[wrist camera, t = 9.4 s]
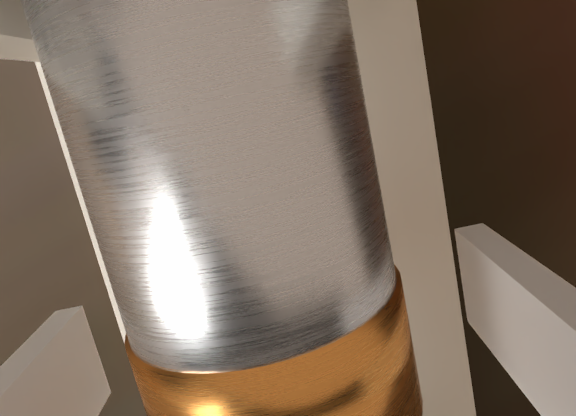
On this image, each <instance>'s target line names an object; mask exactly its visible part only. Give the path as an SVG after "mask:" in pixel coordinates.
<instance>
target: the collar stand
mask: <svg viewBox="0 0 576 416" xmlns="http://www.w3.org/2000/svg"><path fill="white" fill-rule="evenodd" d="M347 1H348V7H349V12H350V18H351V24H352V29H353V35H354V41H355V46H356V52H357V58H358V63H359V69H360V75H361V80H362V86H363V92H364V97H365V103H366V109H367V114H368V120H369V126H370V131H371V137H372V143H373V148H374V154H375V160H376V165H377V171H378V177H379V182H380V188H381V194H382V199H383V205H384V211H385V216H386V222H387V228H388V233H389V239H390V245H391V250H392V256H393V262H394V265H396V267H397V268H398V270H399V272H400V275H401V280H402V285H403V291H404V297H405V303H406V308H407V314H408V320H409V325H410V331H411V337H412V343H413V348H414V354H415V360H416V366H417V371H418V377H419V383H420V389H421V394H422V400H423V414H422V416H476V410H475V403H474V396H473V389H472V383H471V376H470V369H469V362H468V355H467V348H466V341H465V334H464V327H463V320H462V313H461V306H460V300H459V293H458V286H457V279H456V272H455V265H454V258H453V251H452V244H451V237H450V230H449V223H448V217H447V210H446V203H445V196H444V189H443V182H442V175H441V168H440V161H439V154H438V147H437V140H436V134H435V127H434V120H433V113H432V106H431V99H430V92H429V85H428V78H427V71H426V64H425V57H424V51H423V44H422V37H421V30H420V23H419V16H418V9H417V2H416V0H347ZM0 59H9V60H21V61H32V62H35V64H36V67H37V70H38V73H39V76H40V80H41V83H42V86H43V89H44V92H45V95H46V98H47V102H48V105H49V108H50V111H51V114H52V117H53V120H54V124H55V127H56V130H57V133H58V136H59V139H60V143H61V146H62V149H63V152H64V155H65V158H66V161H67V165H68V168H69V171H70V174H71V177H72V180H73V183H74V187H75V190H76V193H77V196H78V199H79V202H80V205H81V209H82V212H83V215H84V218H85V221H86V224H87V228H88V231H89V234H90V237H91V240H92V243H93V246H94V250H95V253H96V256H97V259H98V262H99V265H100V268H101V272H102V275H103V278H104V281H105V284H106V287H107V290H108V294H109V297H110V300H111V303H112V306H113V309H114V312H115V316H116V319H117V322H118V325H119V328H120V331H121V335H122V338H123V341H124V344H125V335H126V331H125V328H124V325H123V322H122V318H121V315H120V312H119V309H118V306H117V303H116V300H115V296H114V293H113V290H112V287H111V284H110V281H109V277H108V274H107V271H106V268H105V265H104V262H103V259H102V255H101V252H100V249H99V246H98V243H97V240H96V237H95V233H94V230H93V227H92V224H91V221H90V218H89V215H88V211H87V208H86V205H85V202H84V199H83V196H82V193H81V189H80V186H79V183H78V180H77V177H76V174H75V170H74V167H73V164H72V161H71V158H70V155H69V152H68V148H67V145H66V142H65V139H64V136H63V133H62V130H61V126H60V123H59V120H58V117H57V114H56V111H55V108H54V104H53V101H52V98H51V95H50V92H49V89H48V85H47V82H46V79H45V76H44V73H43V70H42V67H41V63H40V60H39V57H38V54H37V51H36V48H35V45H34V41H33V38H32V35H31V32H30V29H29V26H28V23H27V19H26V16H25V13H24V10H23V7H22V4H21V0H0Z"/></svg>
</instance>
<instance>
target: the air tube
mask: <svg viewBox="0 0 576 416" xmlns="http://www.w3.org/2000/svg"><path fill="white" fill-rule="evenodd" d="M21 4H22V7H23V10H24V13H25V16H26V19H27V23H28V26H29V29H30V32H31V35H32V38H33V41H34V45H35V48H36V51H37V54H38V57H39V60H40V63H41V67H42V70H43V73H44V76H45V79H46V82H47V85H48V89H49V92H50V95H51V98H52V101H53V104H54V108H55V111H56V114H57V117H58V120H59V123H60V126H61V130H62V133H63V136H64V139H65V142H66V145H67V148H68V152H69V155H70V158H71V161H72V164H73V167H74V170H75V174H76V177H77V180H78V183H79V186H80V189H81V193H82V196H83V199H84V202H85V205H86V208H87V211H88V215H89V218H90V221H91V224H92V227H93V230H94V233H95V237H96V240H97V243H98V246H99V249H100V252H101V255H102V259H103V262H104V265H105V268H106V271H107V274H108V277H109V281H110V284H111V287H112V290H113V293H114V296H115V300H116V303H117V306H118V309H119V312H120V315H121V318H122V322H123V325H124V328H125V331H126V335H125V347H126V352H127V355H128V358H129V361H130V364H131V367H132V370H133V373H134V376H135V380H136V383H137V386H138V389H139V392H140V395H141V398H142V401H143V405H144V408H145V411H146V414H147V416H422V414H423V400H422V394H421V389H420V383H419V377H418V371H417V366H416V360H415V354H414V348H413V343H412V337H411V331H410V325H409V320H408V314H407V308H406V303H405V297H404V291H403V285H402V280H401V275H400V272H399V270H398V268H397V267H396V265H394V262H393V256H392V250H391V245H390V239H389V233H388V228H387V222H386V216H385V211H384V205H383V199H382V194H381V188H380V182H379V177H378V171H377V165H376V160H375V154H374V148H373V143H372V137H371V131H370V126H369V120H368V114H367V109H366V103H365V97H364V92H363V86H362V80H361V75H360V69H359V63H358V58H357V52H356V46H355V41H354V35H353V29H352V24H351V18H350V12H349V7H348V1H347V0H21Z"/></svg>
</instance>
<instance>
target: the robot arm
mask: <svg viewBox="0 0 576 416" xmlns="http://www.w3.org/2000/svg"><path fill="white" fill-rule="evenodd" d="M454 230H455V237H456V244H457V251H458V258H459V266H460V273H461V280H462V287H463V294H464V301H465V308H466V315H467V321H468V323H469V324H470V325H471V327H472V328H473V329H474V330H475V332H476V333H477V334H478V336H479V337H480V338H481V339H482V341H483V342H484V343H485V344H486V346H487V347H488V348H489V350H490V351H491V352H492V353H493V355H494V356H495V357H496V359H497V360H498V361H499V362H500V364H501V365H502V366H503V368H504V369H505V370H506V371H507V373H508V374H509V375H510V377H511V378H512V379H513V380H514V382H515V383H516V384H517V386H518V387H519V388H520V389H521V391H522V392H523V393H524V394H525V396H526V397H527V398H528V400H529V401H530V402H531V403H532V405H533V406H534V407H535V409H536V410H537V411H538V412H539V414H540V415H541V416H576V288H575V287H574V286H573V285H571V284H570V283H568V282H567V281H565V280H564V279H562V278H561V277H560V276H558V275H557V274H555V273H554V272H552V271H551V270H549V269H548V268H547V267H545V266H544V265H542V264H541V263H539V262H538V261H537V260H535V259H534V258H532V257H531V256H529V255H528V254H526V253H525V252H524V251H522V250H521V249H519V248H518V247H516V246H515V245H514V244H512V243H511V242H509V241H508V240H506V239H505V238H503V237H502V236H501V235H499V234H498V233H496V232H495V231H493V230H492V229H491V228H489V227H488V226H486V225H485V224H483V223H480V224H476V225H471V226H466V227H461V228H456V229H454ZM110 393H111V390H110V387H109V384H108V381H107V378H106V375H105V372H104V369H103V366H102V363H101V360H100V357H99V354H98V351H97V348H96V345H95V342H94V339H93V336H92V333H91V330H90V327H89V324H88V321H87V318H86V315H85V312H84V309H83V306H78V307H73V308H68V309H63V310H58V311H55V312H54V313H53V314H52V315H51V316H50V317H49V318H48V319H47V320H46V321H45V322H44V323H43V324H42V325H41V326H40V327H39V328H38V329H37V330H36V331H35V332H34V333H33V334H32V335H31V336H30V337H29V338H28V339H27V340H26V341H25V342H24V343H23V344H22V345H21V346H20V347H19V348H18V349H17V350H16V351H15V352H14V353H13V354H12V355H11V356H10V357H9V358H8V359H7V360H6V361H5V362H4V363H3V364H2V365H1V366H0V416H98V415H99V413H100V411H101V410H102V408H103V406H104V404H105V402H106V401H107V399H108V397H109V395H110Z"/></svg>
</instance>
